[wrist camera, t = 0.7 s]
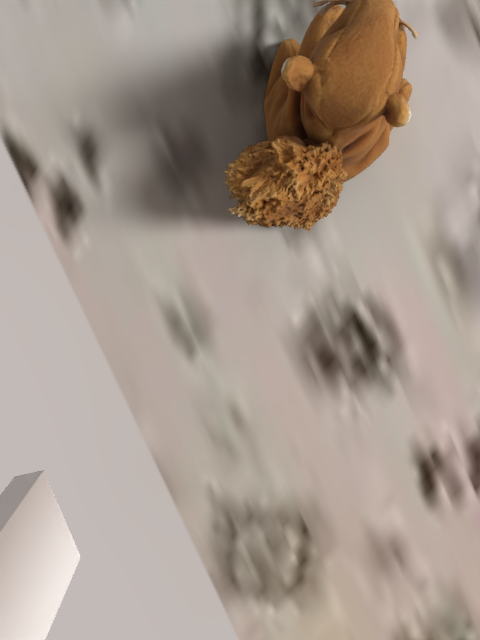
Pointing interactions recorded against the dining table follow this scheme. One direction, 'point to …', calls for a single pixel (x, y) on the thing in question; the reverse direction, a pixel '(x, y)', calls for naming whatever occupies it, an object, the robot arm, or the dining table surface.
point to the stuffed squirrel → (324, 114)
